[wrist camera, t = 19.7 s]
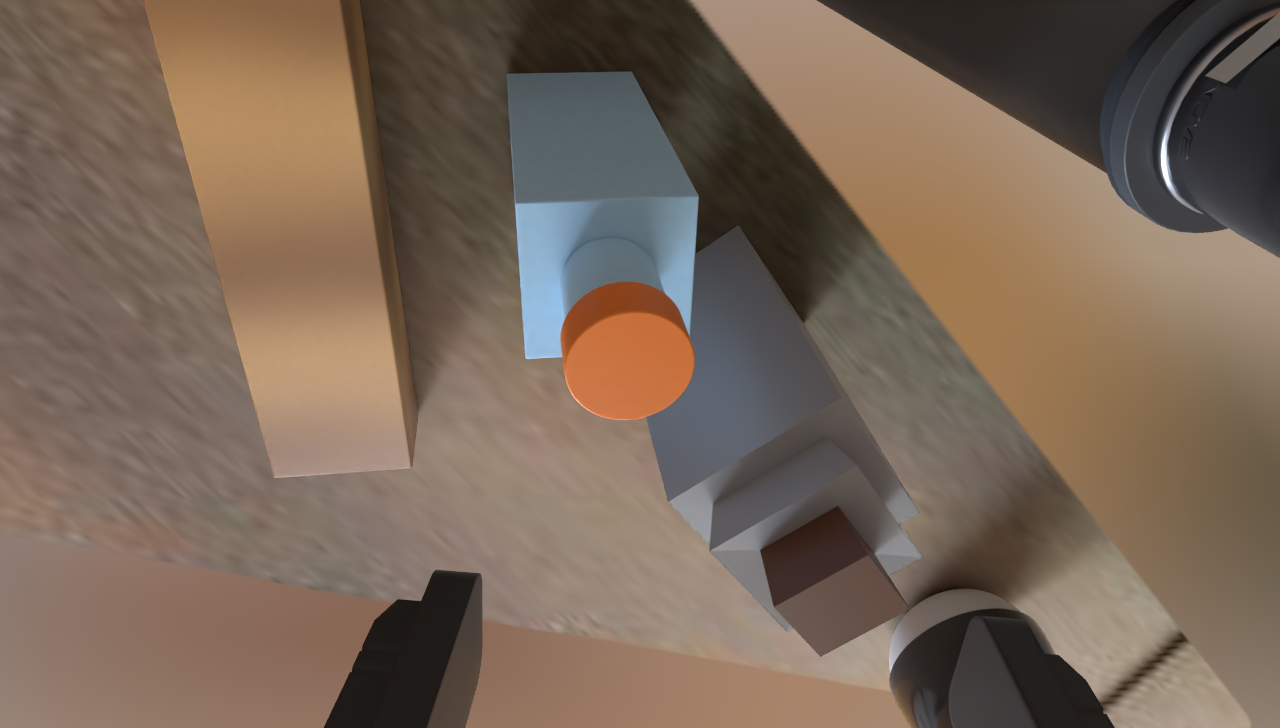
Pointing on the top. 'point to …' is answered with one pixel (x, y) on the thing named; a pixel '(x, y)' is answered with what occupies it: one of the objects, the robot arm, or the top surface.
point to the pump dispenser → (940, 650)
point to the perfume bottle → (780, 460)
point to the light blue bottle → (603, 239)
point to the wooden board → (296, 221)
